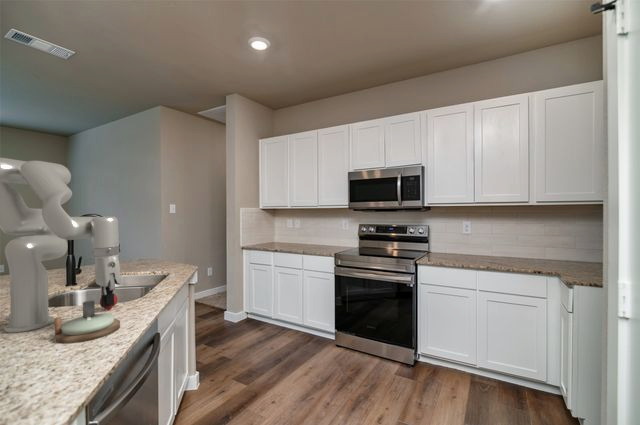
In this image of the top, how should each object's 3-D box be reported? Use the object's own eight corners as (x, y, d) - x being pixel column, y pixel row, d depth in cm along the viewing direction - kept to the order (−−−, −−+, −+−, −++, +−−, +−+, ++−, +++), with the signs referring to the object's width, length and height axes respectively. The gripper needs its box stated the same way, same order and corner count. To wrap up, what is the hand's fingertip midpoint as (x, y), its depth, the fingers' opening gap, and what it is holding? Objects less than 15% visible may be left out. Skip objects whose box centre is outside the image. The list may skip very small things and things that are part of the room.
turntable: (115, 327, 97) (115, 306, 97) (60, 339, 89) (60, 315, 89) (112, 316, 108) (112, 297, 108) (63, 325, 100) (63, 304, 100)
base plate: (39, 342, 91) (39, 321, 91) (89, 321, 108) (88, 303, 108) (89, 344, 89) (89, 322, 89) (132, 323, 106) (131, 304, 106)
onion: (108, 312, 117) (107, 292, 117) (96, 312, 118) (95, 292, 118) (120, 308, 123) (120, 288, 123) (109, 307, 124) (108, 288, 124)
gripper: (127, 252, 101) (129, 306, 101) (110, 250, 110) (112, 299, 110) (100, 255, 95) (102, 312, 95) (85, 252, 104) (87, 305, 104)
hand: (108, 305), depth 102 cm, fingers closed
